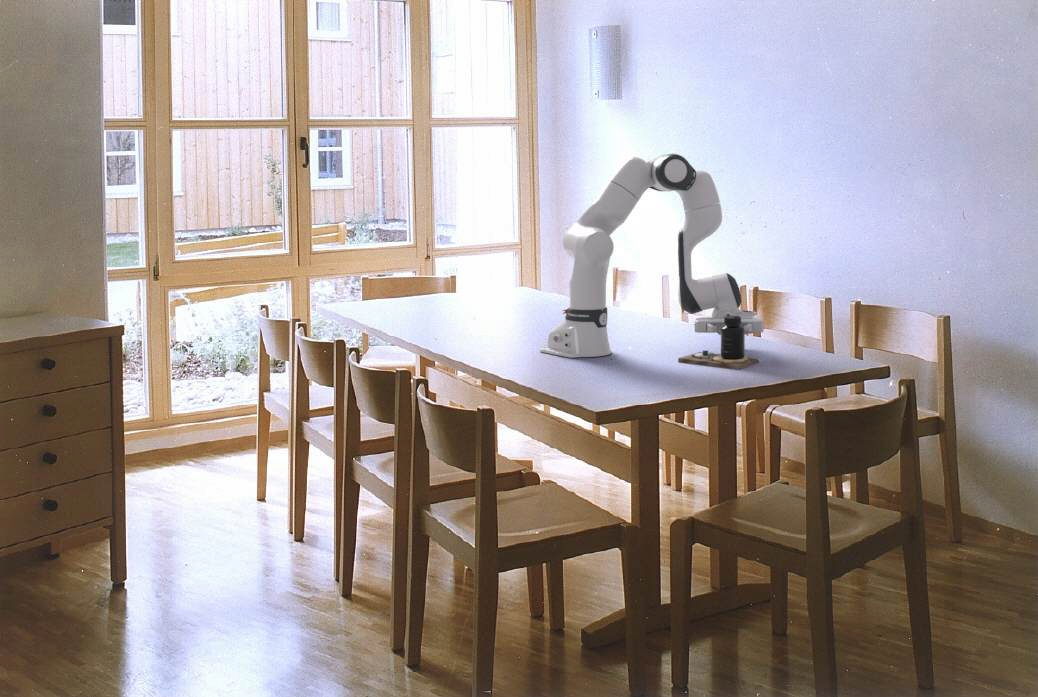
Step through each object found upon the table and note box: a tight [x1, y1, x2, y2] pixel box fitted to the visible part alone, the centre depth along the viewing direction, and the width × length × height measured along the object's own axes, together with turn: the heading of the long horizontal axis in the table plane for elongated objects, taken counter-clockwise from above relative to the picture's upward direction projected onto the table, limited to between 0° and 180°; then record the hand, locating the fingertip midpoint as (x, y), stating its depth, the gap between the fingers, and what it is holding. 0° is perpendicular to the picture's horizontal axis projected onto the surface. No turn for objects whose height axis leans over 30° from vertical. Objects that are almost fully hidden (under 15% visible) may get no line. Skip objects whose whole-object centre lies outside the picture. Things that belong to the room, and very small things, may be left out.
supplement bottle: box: [720, 316, 746, 360], centre depth 350 cm, size 7×7×12 cm
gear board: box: [677, 349, 760, 371], centre depth 354 cm, size 20×12×3 cm, turn 50°
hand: (730, 329), depth 352 cm, fingers open, 8 cm apart
